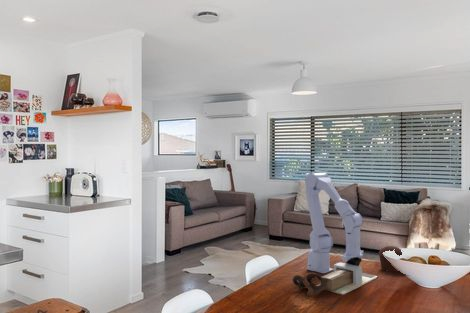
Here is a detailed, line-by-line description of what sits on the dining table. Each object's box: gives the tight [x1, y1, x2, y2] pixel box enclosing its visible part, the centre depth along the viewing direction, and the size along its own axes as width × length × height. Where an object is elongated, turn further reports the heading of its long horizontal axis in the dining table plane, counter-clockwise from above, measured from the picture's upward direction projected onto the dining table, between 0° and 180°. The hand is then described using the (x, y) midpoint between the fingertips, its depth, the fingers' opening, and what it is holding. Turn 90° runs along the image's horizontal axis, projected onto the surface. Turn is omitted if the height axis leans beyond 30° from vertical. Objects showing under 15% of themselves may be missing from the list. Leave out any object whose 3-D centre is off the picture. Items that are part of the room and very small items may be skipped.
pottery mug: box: [292, 272, 324, 297], centre depth 150 cm, size 12×10×8 cm
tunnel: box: [316, 262, 379, 296], centre depth 161 cm, size 12×28×7 cm, turn 135°
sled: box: [321, 269, 353, 292], centre depth 156 cm, size 5×19×4 cm, turn 135°
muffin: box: [378, 245, 402, 272], centre depth 179 cm, size 12×11×10 cm
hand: (353, 275), depth 164 cm, fingers closed
